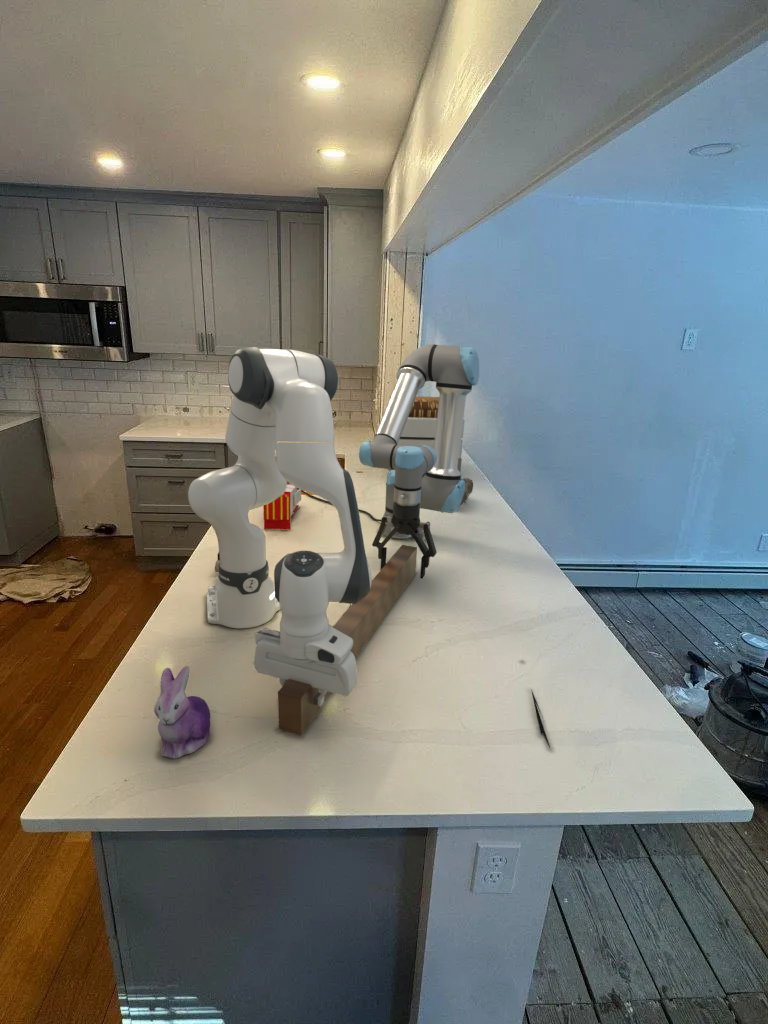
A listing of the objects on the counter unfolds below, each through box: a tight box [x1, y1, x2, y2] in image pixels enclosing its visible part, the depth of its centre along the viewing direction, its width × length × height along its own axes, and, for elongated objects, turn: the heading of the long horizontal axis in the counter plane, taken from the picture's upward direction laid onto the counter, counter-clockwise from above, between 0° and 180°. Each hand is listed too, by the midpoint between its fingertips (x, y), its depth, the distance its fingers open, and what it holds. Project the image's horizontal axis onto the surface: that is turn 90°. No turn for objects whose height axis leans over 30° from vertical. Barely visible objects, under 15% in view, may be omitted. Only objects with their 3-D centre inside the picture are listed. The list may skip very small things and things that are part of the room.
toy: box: [263, 484, 302, 531], centre depth 210 cm, size 12×13×30 cm
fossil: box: [459, 477, 474, 508], centre depth 233 cm, size 22×10×15 cm
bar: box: [277, 544, 418, 737], centre depth 137 cm, size 75×5×8 cm, turn 161°
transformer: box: [389, 395, 465, 474], centre depth 268 cm, size 34×33×41 cm
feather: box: [521, 660, 551, 748], centre depth 116 cm, size 2×28×2 cm
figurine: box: [153, 665, 211, 759], centre depth 99 cm, size 9×10×15 cm
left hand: (304, 699), depth 109 cm, fingers closed on bar, 5 cm apart
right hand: (402, 573), depth 166 cm, fingers open, 11 cm apart
